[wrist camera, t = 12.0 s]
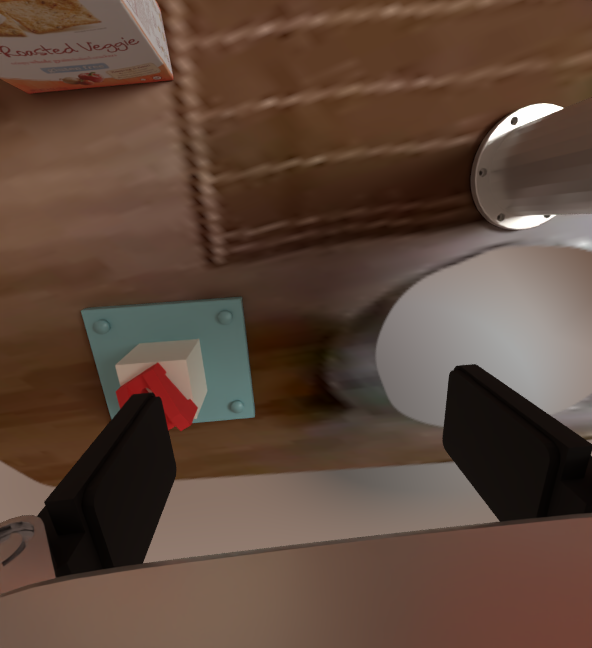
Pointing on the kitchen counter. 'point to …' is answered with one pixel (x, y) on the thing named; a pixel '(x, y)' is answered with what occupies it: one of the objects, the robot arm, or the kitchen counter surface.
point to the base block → (169, 366)
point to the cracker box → (81, 44)
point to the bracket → (161, 396)
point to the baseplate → (172, 325)
